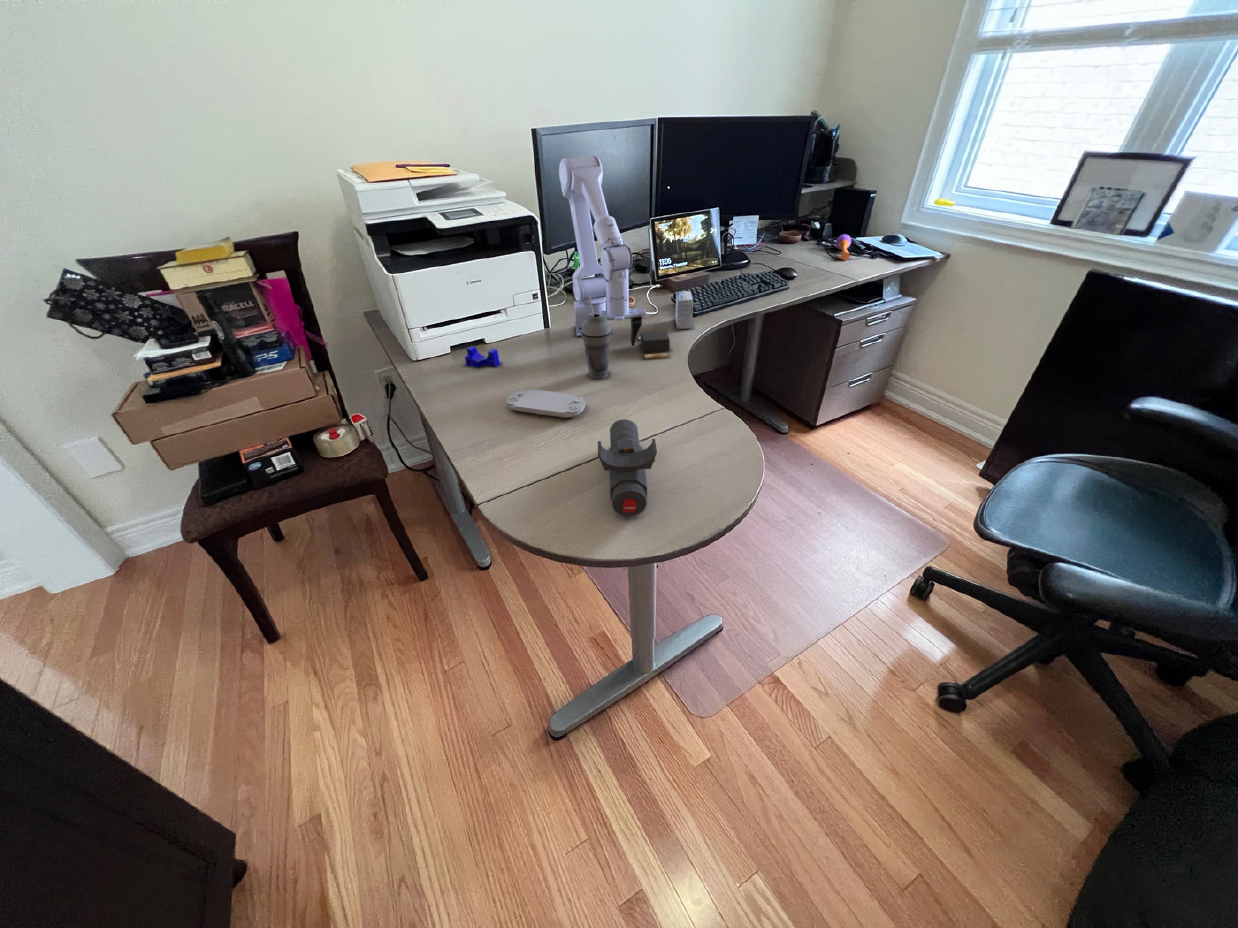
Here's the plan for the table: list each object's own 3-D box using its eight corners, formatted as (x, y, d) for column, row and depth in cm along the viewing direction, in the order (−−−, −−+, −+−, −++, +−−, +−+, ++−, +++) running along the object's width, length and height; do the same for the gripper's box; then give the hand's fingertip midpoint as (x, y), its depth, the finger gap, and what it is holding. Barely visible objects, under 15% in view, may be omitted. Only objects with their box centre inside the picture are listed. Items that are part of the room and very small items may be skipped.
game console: (589, 394, 112) (576, 412, 105) (589, 403, 113) (577, 422, 107) (517, 385, 116) (501, 402, 110) (518, 394, 117) (502, 411, 111)
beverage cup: (609, 383, 121) (606, 302, 108) (581, 380, 122) (574, 300, 110) (615, 369, 126) (613, 291, 114) (588, 367, 127) (582, 290, 115)
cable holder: (466, 365, 130) (463, 351, 128) (473, 359, 133) (470, 346, 131) (493, 369, 128) (490, 355, 126) (499, 363, 131) (497, 349, 128)
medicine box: (691, 329, 146) (693, 300, 140) (676, 329, 146) (678, 300, 141) (689, 319, 152) (691, 291, 147) (674, 319, 152) (676, 291, 147)
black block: (643, 352, 134) (643, 340, 132) (640, 343, 138) (640, 332, 136) (669, 351, 134) (669, 339, 132) (665, 342, 139) (665, 330, 137)
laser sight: (648, 442, 100) (648, 400, 94) (659, 520, 82) (660, 473, 76) (600, 444, 100) (597, 402, 94) (600, 522, 82) (597, 476, 76)
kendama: (837, 250, 194) (835, 233, 209) (836, 265, 198) (835, 248, 212) (854, 247, 192) (851, 231, 206) (853, 263, 196) (850, 246, 210)
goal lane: (645, 359, 131) (645, 356, 130) (638, 338, 141) (638, 336, 141) (667, 357, 131) (667, 355, 131) (658, 337, 142) (658, 335, 141)
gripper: (590, 302, 123) (593, 353, 131) (647, 299, 124) (647, 349, 132) (588, 293, 128) (591, 342, 137) (643, 290, 129) (643, 338, 138)
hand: (618, 345), depth 135 cm, fingers open, 7 cm apart
